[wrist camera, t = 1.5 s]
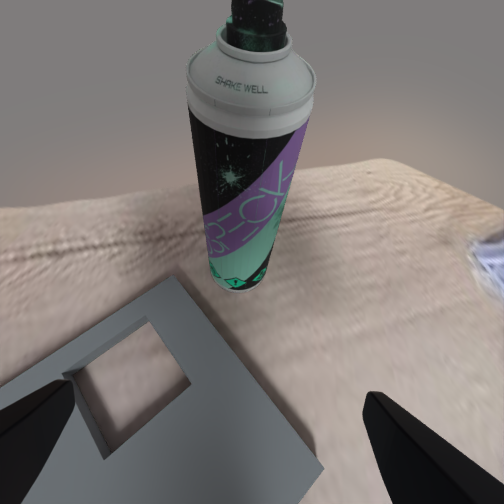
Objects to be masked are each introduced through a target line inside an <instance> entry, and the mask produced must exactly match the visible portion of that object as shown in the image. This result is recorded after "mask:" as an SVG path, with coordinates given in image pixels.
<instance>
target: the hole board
mask: <svg viewBox="0 0 504 504" xmlns="http://www.w3.org/2000/svg"><path fill="white" fill-rule="evenodd" d="M148 321H150V323H151V324H152V326H153V327H154V329H155V330H156V332H157V333H158V335H159V336H160V338H161V339H162V341H163V342H164V344H165V345H166V347H167V348H168V349H169V351H170V352H171V354H172V355H173V357H174V358H175V360H176V361H177V363H178V364H179V366H180V367H181V369H182V370H183V372H184V373H185V375H186V376H187V378H188V379H189V381H190V382H191V383H192V384H191V385H190V386H189V387H188V388H187V389H186V390H184V391H183V392H182V393H181V394H180V395H179V396H178V397H176V398H175V399H174V400H173V401H172V402H171V403H170V404H168V405H167V406H166V407H165V408H164V409H163V410H161V411H160V412H159V413H158V414H157V415H156V416H155V417H153V418H152V419H151V420H150V421H149V422H148V423H147V424H145V425H144V426H143V427H142V428H141V429H140V430H138V431H137V432H136V433H135V434H134V435H133V436H132V437H130V438H129V439H128V440H127V441H126V442H125V443H124V444H122V445H121V446H120V447H119V448H118V449H117V450H115V451H114V452H113V453H112V454H111V452H110V450H109V448H108V446H107V444H106V442H105V440H104V438H103V436H102V434H101V432H100V430H99V428H98V426H97V424H96V422H95V420H94V418H93V416H92V414H91V412H90V410H89V408H88V406H87V404H86V402H85V400H84V398H83V396H82V394H81V392H80V390H79V388H78V386H77V384H76V382H75V380H74V378H73V376H72V375H73V374H75V373H76V372H77V371H79V370H80V369H82V368H83V367H84V366H86V365H87V364H89V363H90V362H92V361H93V360H94V359H96V358H97V357H99V356H100V355H101V354H103V353H104V352H106V351H107V350H109V349H110V348H111V347H113V346H114V345H116V344H117V343H118V342H120V341H121V340H123V339H124V338H126V337H127V336H128V335H130V334H131V333H133V332H134V331H135V330H137V329H138V328H140V327H141V326H143V325H144V324H145V323H147V322H148ZM56 379H69V380H71V381H72V382H73V386H74V394H75V407H74V410H73V412H72V414H71V416H70V418H69V420H68V422H67V424H66V426H65V428H64V429H63V431H62V433H61V435H60V437H59V439H58V441H57V443H56V445H55V447H54V449H53V451H52V452H51V454H50V456H49V458H48V460H47V462H46V464H45V466H44V467H43V469H42V471H41V473H40V474H39V476H38V477H37V479H36V481H35V482H34V484H33V486H32V487H31V489H30V490H29V492H28V494H27V495H26V497H25V498H24V500H23V501H22V503H21V504H298V503H299V502H300V500H301V499H302V498H303V496H304V495H305V494H306V492H307V491H308V490H309V488H310V487H311V486H312V484H313V483H314V482H315V480H316V479H317V478H318V476H319V475H320V474H321V472H322V471H323V470H324V467H323V466H322V465H321V463H320V462H319V461H318V459H317V458H316V457H315V456H314V454H313V453H312V452H311V450H310V449H309V448H308V447H307V445H306V444H305V443H304V442H303V440H302V439H301V438H300V436H299V435H298V434H297V433H296V431H295V430H294V429H293V427H292V426H291V425H290V424H289V422H288V421H287V420H286V418H285V417H284V416H283V415H282V413H281V412H280V411H279V409H278V408H277V407H276V406H275V404H274V403H273V402H272V400H271V399H270V398H269V397H268V395H267V394H266V393H265V391H264V390H263V389H262V388H261V386H260V385H259V384H258V383H257V381H256V380H255V379H254V377H253V376H252V375H251V374H250V372H249V371H248V370H247V368H246V367H245V366H244V365H243V363H242V362H241V361H240V359H239V358H238V357H237V356H236V354H235V353H234V352H233V350H232V349H231V348H230V347H229V345H228V344H227V343H226V341H225V340H224V339H223V338H222V336H221V335H220V334H219V333H218V331H217V330H216V329H215V327H214V326H213V325H212V324H211V322H210V321H209V320H208V318H207V317H206V316H205V315H204V313H203V312H202V311H201V309H200V308H199V307H198V306H197V304H196V303H195V302H194V300H193V299H192V298H191V297H190V295H189V294H188V293H187V291H186V290H185V289H184V288H183V286H182V285H181V284H180V283H179V281H178V280H177V279H176V277H175V276H174V275H172V276H170V277H169V278H167V279H166V280H164V281H162V282H161V283H159V284H158V285H156V286H155V287H153V288H152V289H150V290H149V291H147V292H146V293H144V294H143V295H141V296H140V297H138V298H137V299H135V300H134V301H132V302H130V303H129V304H127V305H126V306H124V307H123V308H121V309H120V310H118V311H117V312H115V313H114V314H112V315H111V316H109V317H108V318H106V319H105V320H103V321H101V322H100V323H98V324H97V325H95V326H94V327H92V328H91V329H89V330H88V331H86V332H85V333H83V334H82V335H80V336H79V337H77V338H76V339H74V340H72V341H71V342H69V343H68V344H66V345H65V346H63V347H62V348H60V349H59V350H57V351H56V352H54V353H53V354H51V355H50V356H48V357H47V358H45V359H43V360H42V361H40V362H39V363H37V364H36V365H34V366H33V367H31V368H30V369H28V370H27V371H25V372H24V373H22V374H21V375H19V376H18V377H16V378H14V379H13V380H11V381H10V382H8V383H7V384H5V385H4V386H2V387H1V388H0V410H1V409H3V408H5V407H7V406H9V405H10V404H12V403H14V402H16V401H18V400H19V399H21V398H23V397H25V396H27V395H28V394H30V393H32V392H34V391H36V390H38V389H39V388H41V387H43V386H45V385H47V384H48V383H50V382H52V381H54V380H56Z"/></svg>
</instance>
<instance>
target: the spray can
mask: <svg viewBox="0 0 504 504" xmlns="http://www.w3.org/2000/svg"><path fill="white" fill-rule="evenodd" d="M231 9H232V10H231V11H232V15H231V16H230V17H228V19H227V20H226V24H224V25H222V26H221V27H220V28H219V29H218V30H217V33H216V41H214V42H213V43H212V44H210V45H209V46H206V47H204V48H202V49H200V50H198V51H197V52H196V53H194V54H193V55H192V56H191V58H190V59H189V60H188V63H187V65H186V74H187V81H188V83H187V86H186V95H187V103H188V110H189V117H190V124H191V132H192V139H193V146H194V153H195V160H196V168H197V176H198V183H199V190H200V198H201V205H202V212H203V220H204V227H205V234H206V242H207V249H208V256H209V264H210V271H211V274H212V277H213V279H214V281H215V282H216V283H217V284H218V285H219V286H220V287H221V288H223V289H225V290H227V291H229V292H233V293H243V292H247V291H250V290H252V289H254V288H255V287H257V286H258V285H259V284H260V283H261V281H262V280H263V278H264V275H265V273H266V269H267V265H268V262H269V258H270V255H271V251H272V248H273V244H274V241H275V237H276V234H277V230H278V227H279V223H280V220H281V216H282V212H283V209H284V205H285V202H286V198H287V195H288V191H289V188H290V184H291V181H292V177H293V174H294V170H295V166H296V162H297V159H298V155H299V152H300V149H301V145H302V142H303V138H304V135H305V131H306V128H307V124H308V121H309V117H310V113H311V110H312V106H313V102H314V100H313V93H314V89H315V85H316V75H315V72H314V70H313V69H312V67H311V66H310V65H309V64H308V63H307V62H306V61H305V60H304V59H302V58H301V57H300V56H298V55H297V54H296V53H295V52H294V51H293V50H292V38H291V36H290V35H289V34H288V33H287V27H286V25H285V23H284V22H283V21H282V15H283V0H232V4H231Z"/></svg>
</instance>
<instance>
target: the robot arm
mask: <svg viewBox="0 0 504 504" xmlns="http://www.w3.org/2000/svg"><path fill="white" fill-rule="evenodd" d="M74 407H75V394H74V386H73V382H72V381H71V380H69V379H56V380H54V381H52V382H50V383H48V384H47V385H45V386H43V387H41V388H39V389H38V390H36V391H34V392H32V393H30V394H28V395H27V396H25V397H23V398H21V399H19V400H18V401H16V402H14V403H12V404H10V405H9V406H7V407H5V408H3V409H1V410H0V504H21V503H22V501H23V500H24V498H25V497H26V495H27V494H28V492H29V490H30V489H31V487H32V486H33V484H34V482H35V481H36V479H37V477H38V476H39V474H40V473H41V471H42V469H43V467H44V466H45V464H46V462H47V460H48V458H49V456H50V454H51V452H52V451H53V449H54V447H55V445H56V443H57V441H58V439H59V437H60V435H61V433H62V431H63V429H64V428H65V426H66V424H67V422H68V420H69V418H70V416H71V414H72V412H73V410H74ZM362 415H363V421H364V424H365V427H366V430H367V433H368V437H369V440H370V443H371V446H372V449H373V452H374V455H375V458H376V461H377V464H378V467H379V470H380V473H381V476H382V479H383V481H384V484H385V486H386V489H387V491H388V494H389V496H390V498H391V501H392V503H393V504H504V484H503V483H501V482H500V481H499V480H497V479H496V478H495V477H493V476H492V475H491V474H489V473H488V472H487V471H485V470H484V469H483V468H482V467H480V466H479V465H478V464H476V463H475V462H474V461H472V460H471V459H470V458H468V457H467V456H466V455H464V454H463V453H462V452H460V451H459V450H458V449H456V448H455V447H454V446H452V445H451V444H450V443H449V442H447V441H446V440H445V439H443V438H442V437H441V436H439V435H438V434H437V433H435V432H434V431H433V430H431V429H430V428H429V427H427V426H426V425H425V424H423V423H422V422H421V421H420V420H418V419H417V418H416V417H414V416H413V415H412V414H410V413H409V412H408V411H406V410H405V409H404V408H402V407H401V406H400V405H398V404H397V403H396V402H394V401H393V400H392V399H391V398H389V397H388V396H387V395H385V394H384V393H382V392H377V391H370V392H368V393H367V395H366V399H365V403H364V408H363V414H362Z"/></svg>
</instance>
